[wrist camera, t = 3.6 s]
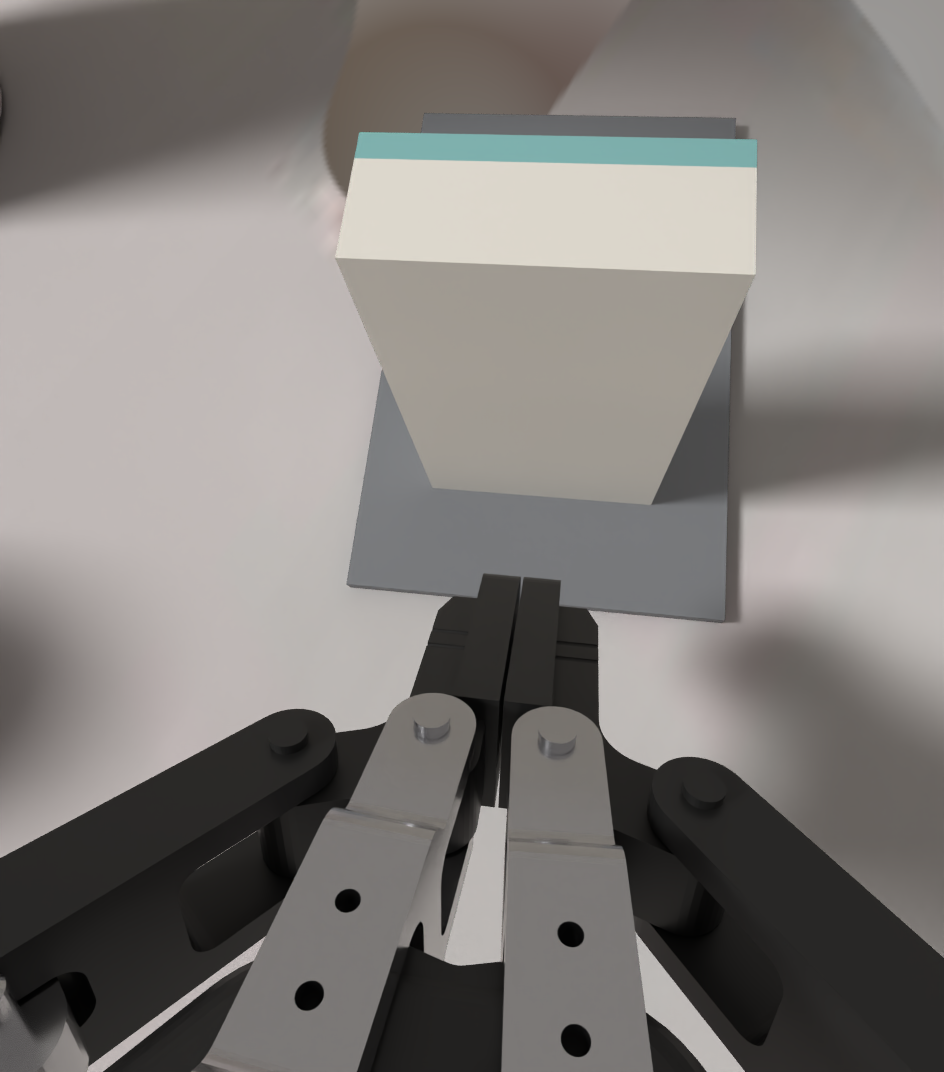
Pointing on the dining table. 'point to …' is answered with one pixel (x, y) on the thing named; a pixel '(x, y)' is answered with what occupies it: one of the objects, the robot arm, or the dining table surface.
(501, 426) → the tile
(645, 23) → the dining table surface
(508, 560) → the mat
